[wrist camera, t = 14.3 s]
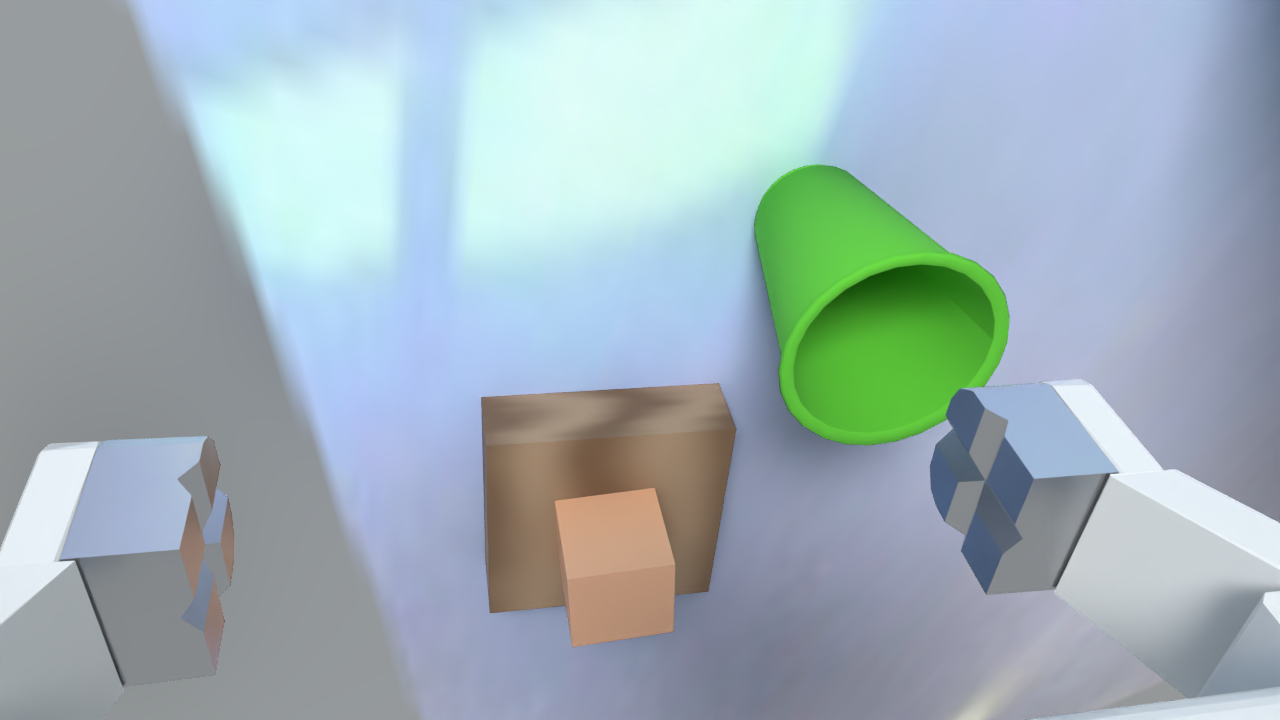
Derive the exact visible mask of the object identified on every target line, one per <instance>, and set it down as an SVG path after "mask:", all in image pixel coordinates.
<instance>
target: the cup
mask: <svg viewBox="0 0 1280 720" xmlns="http://www.w3.org/2000/svg"><path fill="white" fill-rule="evenodd" d="M754 225H755V236H756V241H757V246H758V250H759V255H760V260H761V264H762V269H763V274H764V278H765V283H766V288H767V292H768V297H769V302H770V306H771V311H772V316H773V320H774V325H775V330H776V334H777V339H778V344H779V348H780V353H781V359H780V364H779V368H778V372H779V385H780V392H781V395H782V397H783V399H784V402H785V404H786V406H787V409H788V411H789V412H790V413H791V414H792V415H793V416H794V417H795V418H796V419H797V420H798V422H799V423H800V424H801V425H802V426H804V427H806V428H807V429H809V430H811V431H813V432H814V433H816V434H818V435H819V436H821V437H823V438H825V439H829V440H833V441H836V442H840V443H844V444H855V445H875V444H881V443H888V442H895V441H898V440H901V439H904V438H907V437H910V436H914V435H917V434H920V433H922V432H924V431H926V430H928V429H930V428H932V427H934V426H936V425H937V424H939V423H941V422H943V421H945V420H946V419H947V417H946V412H947V409H948V407H949V404H950V401H951V398H952V397H953V396H954V395H955V393H956V392H957V391H958V390H959V389H960V388H973V387H984V386H985V385H986V383H987V382H988V380H989V379H990V377H991V376H992V374H993V372H994V371H995V369H996V368H997V366H998V365H999V362H1000V360H1001V357H1002V355H1003V352H1004V349H1005V347H1006V344H1007V339H1008V329H1009V311H1008V307H1007V302H1006V297H1005V294H1004V292H1003V291H1002V289H1001V287H1000V286H999V284H998V282H997V281H996V279H995V277H994V276H993V275H992V274H990V273H989V272H988V271H987V270H985V269H984V268H983V267H982V266H980V265H979V264H978V263H977V262H974V261H972V260H969V259H967V258H964V257H961V256H959V255H956V254H953V253H949V252H948V251H947V250H945V249H944V248H943V247H942V246H940V245H939V244H938V243H937V242H935V241H934V240H933V239H932V238H930V237H929V236H928V235H927V234H925V233H924V232H923V231H921V230H920V229H919V228H918V227H916V226H915V225H914V224H913V223H911V222H910V221H909V220H908V219H906V218H905V217H904V216H903V215H901V214H900V213H899V212H898V211H896V210H895V209H894V208H892V207H891V206H890V205H889V204H887V203H886V202H885V201H884V200H882V199H881V198H880V197H879V196H877V195H876V194H875V193H874V192H872V191H871V190H870V189H869V188H867V187H866V186H865V185H864V184H862V183H861V182H860V181H858V180H857V179H856V178H855V177H853V176H852V175H851V174H850V173H848V172H847V171H845V170H842V169H840V168H837V167H833V166H825V165H810V166H804V167H801V168H798V169H795V170H792V171H791V172H789V173H787V174H785V175H784V176H782V177H780V178H779V179H778V180H777V181H776V182H775V183H774V184H773V185H771V187H770V188H769V189H768V191H767V192H766V193H765V195H764V196H763V198H762V200H761V203H760V205H759V207H758V210H757V213H756V219H755V224H754Z"/></svg>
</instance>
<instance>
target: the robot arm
mask: <svg viewBox="0 0 1280 720" xmlns="http://www.w3.org/2000/svg"><path fill="white" fill-rule="evenodd" d="M946 417H947V419H948V421H949V423H950V424H951V426H952V428H953V429H952V430H951V431H950V432H949V433H948V434H947V435H946V436H944V437H943V438H942V439H941V440H940V441H939V442H938V443H937V444H936V446H935V450H934V453H933V457H932V460H931V464H930V481H931V491H932V494H933V498H934V501H935V504H936V507H937V509H938V510H939V512H940V514H941V516H942V518H943V520H944V522H946V523H947V524H949V525H950V526H952V527H953V528H955V529H956V530H958V531H959V532H961V533H963V534H964V535H965V538H964V541H963V545H962V549H961V552H962V553H963V555H964V557H965V559H966V560H967V562H968V564H969V566H970V567H971V569H972V571H973V573H974V574H975V576H976V578H977V580H978V581H979V583H980V585H981V587H982V588H983V590H984V592H985V594H986V595H989V594H1002V593H1015V592H1028V591H1041V590H1054V589H1056V590H1055V592H1054V593H1055V594H1056V595H1057V596H1059V597H1060V598H1061V599H1062V600H1064V601H1065V602H1066V603H1067V604H1069V605H1070V606H1071V607H1073V608H1074V609H1075V610H1076V611H1078V612H1079V613H1080V614H1081V615H1083V616H1084V617H1085V618H1087V619H1088V620H1089V621H1090V622H1092V623H1093V624H1094V625H1095V626H1097V627H1098V628H1099V629H1101V630H1102V631H1103V632H1104V633H1106V634H1107V635H1108V636H1109V637H1111V638H1112V639H1113V640H1115V641H1116V642H1117V643H1118V644H1120V645H1121V646H1122V647H1123V648H1125V649H1126V650H1127V651H1129V652H1130V653H1131V654H1132V655H1134V656H1135V657H1136V658H1137V659H1139V660H1140V661H1141V662H1143V663H1144V664H1145V665H1146V666H1148V667H1149V668H1150V669H1151V670H1153V671H1154V672H1155V673H1157V674H1158V675H1159V676H1160V677H1162V678H1163V679H1164V680H1165V681H1167V682H1168V683H1169V684H1171V685H1172V686H1173V687H1174V688H1176V689H1177V690H1178V691H1179V692H1181V693H1182V694H1183V695H1185V696H1186V697H1187V698H1188V699H1180V700H1172V701H1164V702H1157V703H1149V704H1142V705H1134V706H1126V707H1119V708H1110V709H1103V710H1095V711H1087V712H1080V713H1072V714H1064V715H1056V716H1049V717H1041V718H1034V719H1026V720H1280V523H1279V522H1277V521H1275V520H1273V519H1271V518H1269V517H1267V516H1265V515H1263V514H1261V513H1259V512H1257V511H1256V510H1254V509H1252V508H1250V507H1248V506H1246V505H1244V504H1242V503H1240V502H1238V501H1236V500H1234V499H1232V498H1230V497H1228V496H1227V495H1225V494H1223V493H1221V492H1219V491H1217V490H1215V489H1213V488H1211V487H1209V486H1207V485H1205V484H1203V483H1201V482H1199V481H1197V480H1196V479H1194V478H1192V477H1190V476H1188V475H1186V474H1184V473H1182V472H1180V471H1178V470H1176V469H1172V470H1163V469H1162V467H1161V466H1160V465H1159V464H1158V463H1157V462H1156V460H1155V459H1154V458H1153V457H1152V456H1151V454H1150V453H1149V452H1148V451H1147V450H1146V448H1145V447H1144V446H1143V445H1142V444H1141V443H1140V441H1139V440H1138V439H1137V438H1136V437H1135V435H1134V434H1133V433H1132V432H1131V431H1130V429H1129V428H1128V427H1127V426H1126V425H1125V424H1124V422H1123V421H1122V420H1121V419H1120V418H1119V416H1118V415H1117V414H1116V413H1115V412H1114V411H1113V409H1112V408H1111V407H1110V406H1109V405H1108V403H1107V402H1106V401H1105V400H1104V399H1103V397H1102V396H1101V395H1100V394H1099V393H1098V392H1097V390H1096V389H1095V388H1094V387H1093V386H1092V385H1091V384H1090V383H1088V382H1086V381H1084V380H1082V379H1069V380H1057V381H1045V382H1039V383H1029V384H1015V385H1001V386H987V387H973V388H960V389H959V390H958V391H957V392H956V393H955V395H954V396H953V397H952V398H951V401H950V404H949V407H948V409H947V412H946ZM219 470H220V462H219V458H218V454H217V450H216V447H215V443H214V441H213V440H212V439H211V438H210V437H209V436H198V437H176V438H175V437H174V438H151V439H127V440H105V441H104V442H79V443H78V442H77V443H54V444H49V445H48V446H47V447H46V448H44V449H43V450H42V451H41V452H40V453H39V455H38V457H37V459H36V462H35V464H34V467H33V469H32V472H31V474H30V477H29V479H28V482H27V484H26V487H25V489H24V491H23V494H22V496H21V499H20V501H19V504H18V506H17V509H16V511H15V514H14V516H13V519H12V521H11V524H10V526H9V528H8V531H7V533H6V536H5V539H4V541H3V543H2V546H1V548H0V720H101V719H102V718H103V717H104V716H105V715H106V713H107V712H108V711H109V710H110V708H111V707H112V706H113V705H114V704H115V703H116V701H117V700H118V699H119V698H120V697H121V695H122V694H123V693H124V689H123V687H128V686H136V685H144V684H152V683H159V682H167V681H175V680H182V679H190V678H198V677H205V676H213V675H216V669H217V664H218V658H219V651H220V646H221V640H222V634H223V628H224V622H225V620H224V616H223V612H222V608H221V604H220V600H219V597H220V596H221V595H222V594H223V593H224V591H226V590H227V589H228V588H229V586H230V585H231V578H232V572H233V565H234V529H233V521H232V513H231V509H230V504H229V499H228V496H226V495H225V494H224V493H222V492H221V491H219V490H218V489H217V488H216V486H217V481H218V476H219Z"/></svg>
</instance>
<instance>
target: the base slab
mask: <svg viewBox="0 0 1280 720" xmlns="http://www.w3.org/2000/svg"><path fill="white" fill-rule="evenodd" d="M481 405H482V443H483V481H484V519H485V558H486V573H487V584H488V596H489V607H490V613H497V612H507V611H517V610H527V609H537V608H547V607H557V606H566V604H565V598H564V591H563V585H562V578H561V572H560V563H559V550H558V537H557V524H556V511H555V501H558V500H565V499H573V498H580V497H588V496H595V495H603V494H611V493H618V492H626V491H633V490H641V489H648V488H655V491H656V494H657V498H658V502H659V505H660V509H661V513H662V517H663V520H664V524H665V528H666V531H667V535H668V539H669V543H670V546H671V550H672V554H673V557H674V561H675V593H674V595H679V594H689V593H699V592H708V590H709V584H710V578H711V572H712V567H713V561H714V555H715V549H716V543H717V538H718V532H719V526H720V520H721V514H722V508H723V503H724V497H725V491H726V485H727V479H728V474H729V468H730V462H731V456H732V450H733V444H734V439H735V433H736V427H735V424H734V422H733V419H732V417H731V414H730V411H729V409H728V406H727V404H726V401H725V398H724V396H723V393H722V391H721V388H720V385H719V383H715V384H698V385H681V386H664V387H647V388H630V389H613V390H596V391H579V392H562V393H545V394H528V395H511V396H494V397H481Z"/></svg>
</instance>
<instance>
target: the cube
mask: <svg viewBox="0 0 1280 720" xmlns="http://www.w3.org/2000/svg"><path fill="white" fill-rule="evenodd" d="M555 511H556V524H557V537H558V550H559V563H560V572H561V578H562V585H563V591H564V598H565V604H566V610H567V617H568V623H569V630H570V636H571V643H572V647H576V646H583V645H590V644H596V643H603V642H609V641H616V640H622V639H629V638H636V637H642V636H649V635H655V634H662V633H668V632H673V630H674V593H675V561H674V557H673V554H672V550H671V546H670V543H669V539H668V535H667V531H666V528H665V524H664V520H663V517H662V513H661V509H660V505H659V502H658V498H657V494H656V491H655V488H648V489H641V490H633V491H626V492H618V493H611V494H603V495H595V496H588V497H580V498H573V499H565V500H558V501H555Z"/></svg>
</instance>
